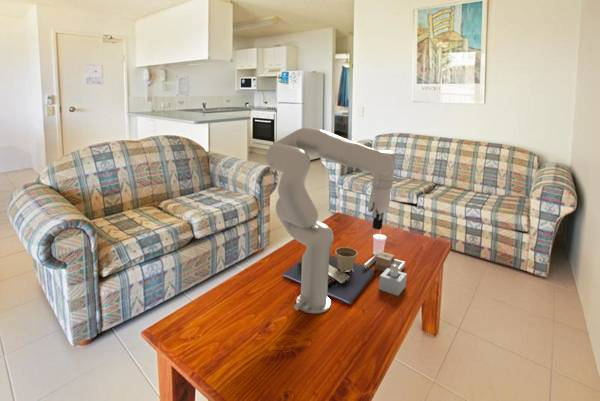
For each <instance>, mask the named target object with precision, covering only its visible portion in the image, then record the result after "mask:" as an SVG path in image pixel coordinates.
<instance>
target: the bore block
mask: <svg viewBox="0 0 600 401" xmlns="http://www.w3.org/2000/svg"><path fill="white" fill-rule="evenodd" d="M407 277H408V274H407V273H406V272H402V271H398V277H397V279H396V278H393V277H390V268H387V269H386V270H385V271H382V273H381V274H380V275H379V282H378V290H379V291H382V292H386V293H389V294H391V295H394V296H397V297H399V296H400V294H401V293H402V292H403V291H404V289H406V285H407V279H408V278H407Z"/></svg>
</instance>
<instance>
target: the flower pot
mask: <svg viewBox="0 0 600 401" xmlns="http://www.w3.org/2000/svg"><path fill="white" fill-rule="evenodd" d="M335 255H336V260H337V269H338V268H339V269H340V270H343V271H344V270H345V271H346V270H351V269H352V270H354V268H353V267H354V264H355V260H356V258H357V255H358V251H357V250H356V249H354V248H352V247H348V246H341V247H338V248H336V249H335Z"/></svg>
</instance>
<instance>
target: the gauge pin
mask: <svg viewBox="0 0 600 401" xmlns="http://www.w3.org/2000/svg"><path fill="white" fill-rule="evenodd" d="M398 269H399V265H397V264H391V268H390V277H393V278H396V279H397V277H398Z"/></svg>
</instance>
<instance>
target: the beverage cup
mask: <svg viewBox="0 0 600 401" xmlns="http://www.w3.org/2000/svg"><path fill="white" fill-rule="evenodd" d="M372 239H373V243H372V244H373V249H372V254H373V256H374V255H376V254H380V253H381V252H384V251H385V245H386V240H387V236H386V235H384V234H382V229H380V230H379V233H376V234H373V235H372Z"/></svg>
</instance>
